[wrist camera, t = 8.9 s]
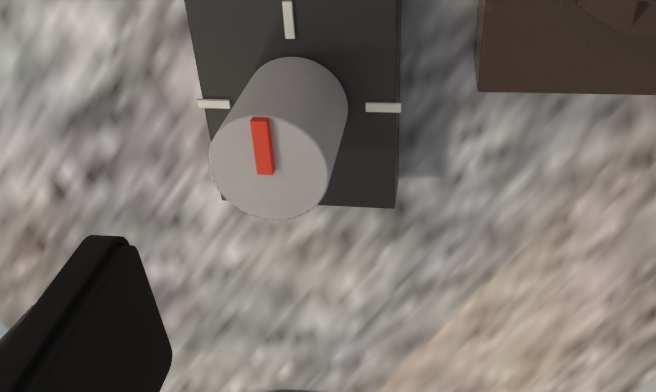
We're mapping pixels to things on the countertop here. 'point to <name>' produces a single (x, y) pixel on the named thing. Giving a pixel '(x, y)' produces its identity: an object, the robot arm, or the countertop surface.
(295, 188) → the dial
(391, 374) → the countertop surface
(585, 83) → the power button base
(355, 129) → the knob
